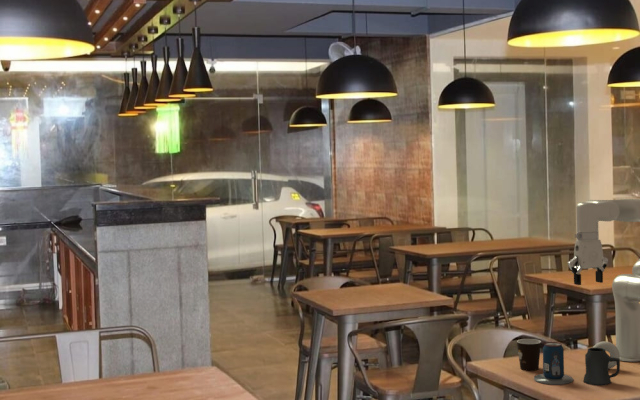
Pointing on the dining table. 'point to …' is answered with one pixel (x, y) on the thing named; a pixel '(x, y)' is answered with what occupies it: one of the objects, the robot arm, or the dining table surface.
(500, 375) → the dining table surface
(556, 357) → the soda can
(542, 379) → the slate coaster
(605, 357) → the mug
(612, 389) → the dining table surface
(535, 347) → the coffee mug
